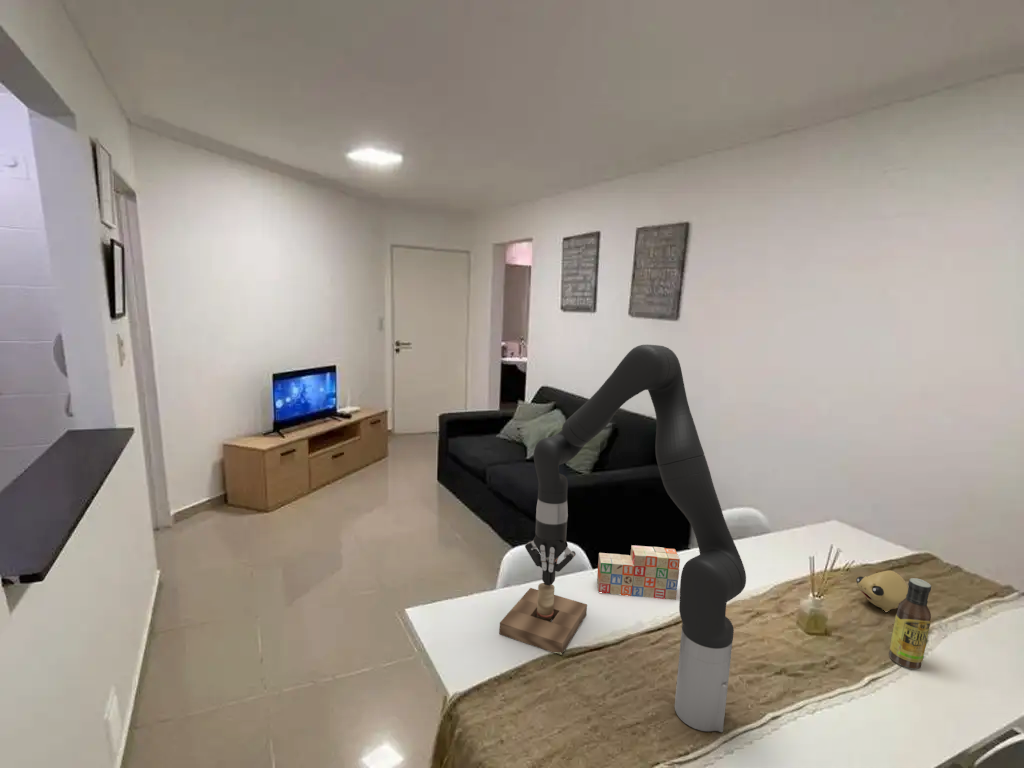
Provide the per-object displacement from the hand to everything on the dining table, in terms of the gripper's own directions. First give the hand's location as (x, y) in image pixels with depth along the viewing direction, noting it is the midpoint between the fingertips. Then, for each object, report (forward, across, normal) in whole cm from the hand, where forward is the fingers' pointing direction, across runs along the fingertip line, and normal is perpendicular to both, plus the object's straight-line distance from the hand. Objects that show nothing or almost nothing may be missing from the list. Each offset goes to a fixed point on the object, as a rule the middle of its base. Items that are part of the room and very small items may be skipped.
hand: (548, 583), depth 128 cm
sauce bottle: (+12, +79, +27) cm, 84 cm away
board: (+11, -1, 0) cm, 11 cm away
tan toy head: (+12, +78, +52) cm, 95 cm away
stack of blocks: (+11, +16, +27) cm, 34 cm away
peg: (+11, 0, 0) cm, 11 cm away
